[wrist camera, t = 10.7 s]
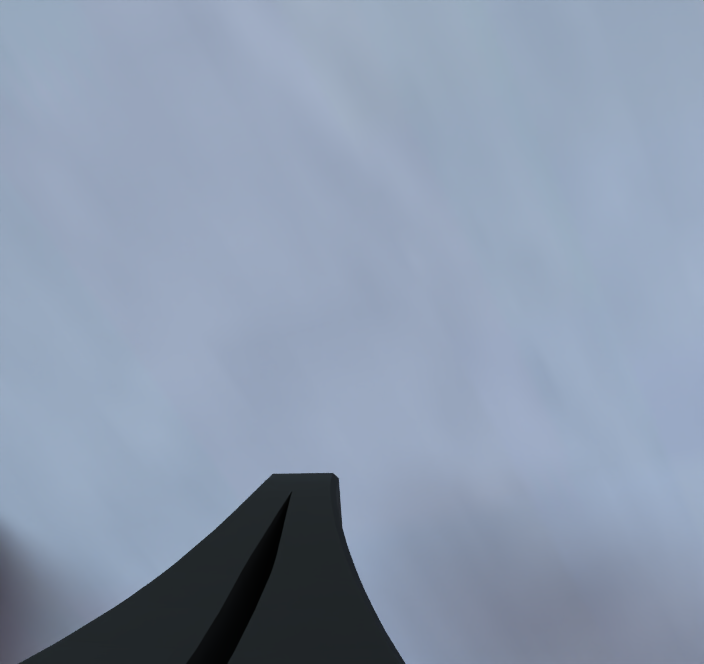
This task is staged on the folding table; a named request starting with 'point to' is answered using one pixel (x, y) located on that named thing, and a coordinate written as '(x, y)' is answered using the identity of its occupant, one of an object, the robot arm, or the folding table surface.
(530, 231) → the folding table surface
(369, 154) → the folding table surface
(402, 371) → the folding table surface
